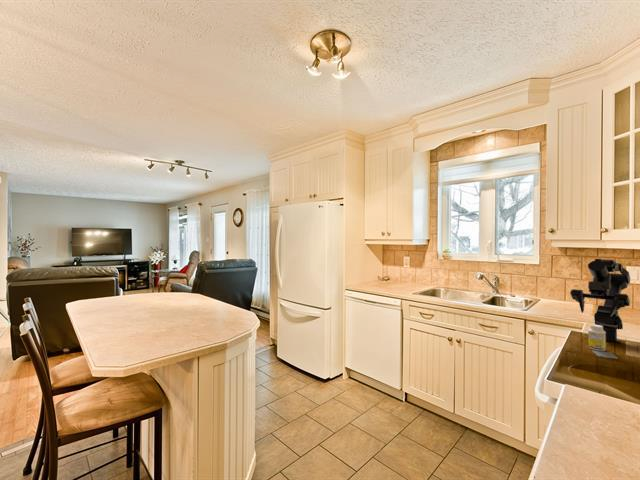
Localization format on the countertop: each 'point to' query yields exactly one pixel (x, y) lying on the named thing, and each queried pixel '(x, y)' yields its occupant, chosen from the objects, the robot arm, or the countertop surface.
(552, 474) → the countertop surface
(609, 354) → the slate coaster
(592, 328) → the supplement bottle
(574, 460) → the countertop surface
